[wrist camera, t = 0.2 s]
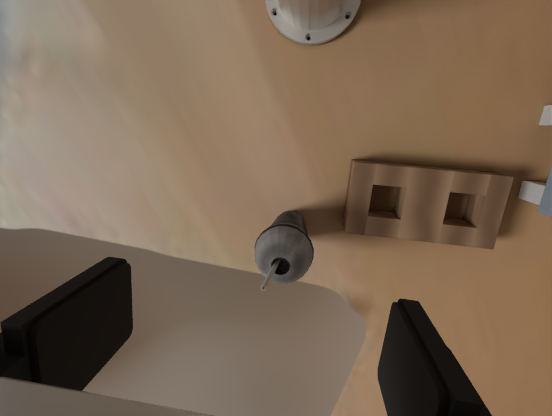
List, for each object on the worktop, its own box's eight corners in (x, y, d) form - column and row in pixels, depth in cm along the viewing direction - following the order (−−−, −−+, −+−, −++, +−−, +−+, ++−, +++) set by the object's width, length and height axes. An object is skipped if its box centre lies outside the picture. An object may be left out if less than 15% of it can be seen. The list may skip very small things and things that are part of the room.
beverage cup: (316, 243, 48) (319, 317, 29) (272, 248, 49) (245, 323, 30) (310, 199, 46) (308, 247, 27) (264, 205, 48) (230, 256, 28)
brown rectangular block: (342, 224, 47) (344, 232, 43) (351, 159, 44) (355, 162, 40) (477, 239, 45) (493, 249, 41) (495, 172, 42) (514, 176, 39)
